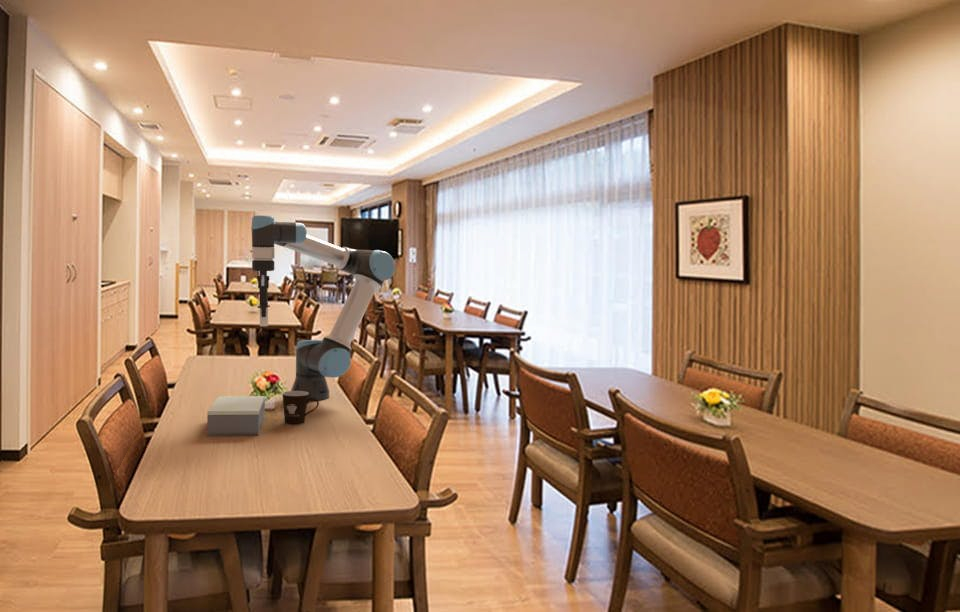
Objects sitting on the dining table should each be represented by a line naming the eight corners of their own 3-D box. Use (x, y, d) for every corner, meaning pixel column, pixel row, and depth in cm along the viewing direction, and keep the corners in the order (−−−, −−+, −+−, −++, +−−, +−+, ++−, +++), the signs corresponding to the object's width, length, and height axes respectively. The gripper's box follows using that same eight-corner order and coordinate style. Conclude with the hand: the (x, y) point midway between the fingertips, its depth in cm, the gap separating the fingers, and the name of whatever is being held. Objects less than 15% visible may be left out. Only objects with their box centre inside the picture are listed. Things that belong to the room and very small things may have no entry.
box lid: (264, 399, 229) (265, 396, 229) (258, 414, 207) (258, 410, 207) (218, 399, 225) (218, 396, 225) (207, 415, 204) (207, 411, 204)
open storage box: (264, 418, 229) (264, 399, 229) (258, 435, 208) (258, 415, 207) (218, 418, 226) (218, 399, 225) (207, 436, 204) (207, 415, 204)
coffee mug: (276, 422, 224) (276, 393, 223) (294, 418, 232) (295, 389, 231) (302, 428, 219) (302, 398, 218) (319, 423, 226) (320, 394, 226)
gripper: (253, 258, 239) (253, 323, 242) (250, 260, 227) (251, 328, 229) (274, 259, 241) (275, 323, 244) (273, 260, 229) (274, 328, 231)
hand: (263, 325), depth 236 cm, fingers closed
